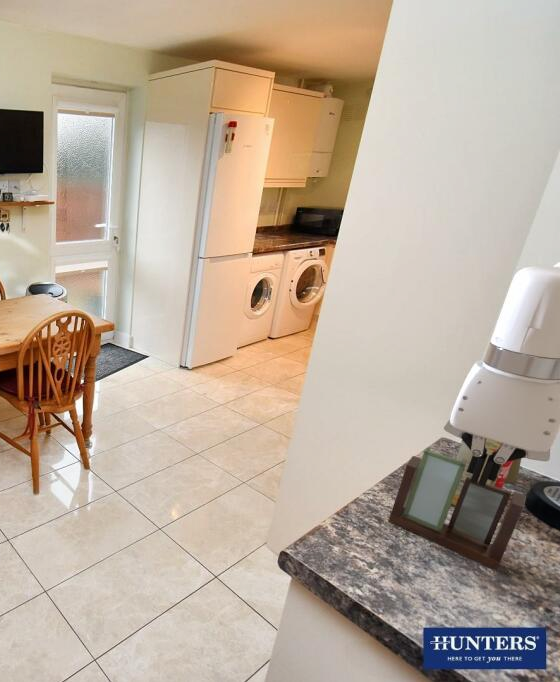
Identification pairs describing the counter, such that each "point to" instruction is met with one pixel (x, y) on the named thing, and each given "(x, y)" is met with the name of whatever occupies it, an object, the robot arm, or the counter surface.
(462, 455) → the shoe polish box
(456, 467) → the window pane
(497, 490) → the window frame
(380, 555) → the counter surface
